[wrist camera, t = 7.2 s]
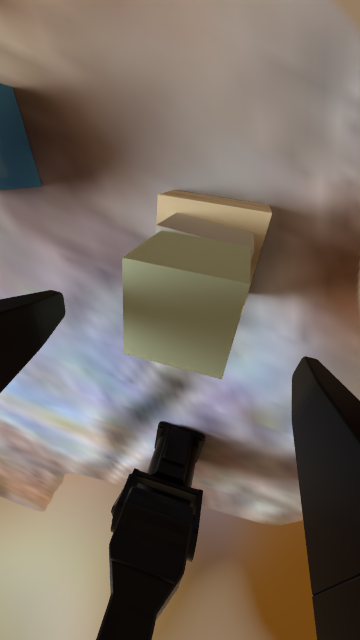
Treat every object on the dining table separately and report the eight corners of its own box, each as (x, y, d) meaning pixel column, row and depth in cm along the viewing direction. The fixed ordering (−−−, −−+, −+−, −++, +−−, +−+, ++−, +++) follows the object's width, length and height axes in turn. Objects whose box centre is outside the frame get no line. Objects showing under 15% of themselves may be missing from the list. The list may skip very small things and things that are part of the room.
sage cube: (229, 323, 14) (221, 379, 11) (155, 306, 15) (124, 353, 11) (250, 246, 12) (250, 283, 8) (161, 230, 12) (122, 257, 9)
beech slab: (243, 291, 21) (241, 314, 18) (166, 275, 22) (152, 293, 19) (268, 204, 18) (272, 213, 14) (174, 189, 19) (158, 194, 15)
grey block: (229, 301, 18) (223, 332, 15) (164, 282, 18) (145, 308, 15) (253, 232, 15) (254, 251, 12) (176, 212, 16) (156, 225, 12)
